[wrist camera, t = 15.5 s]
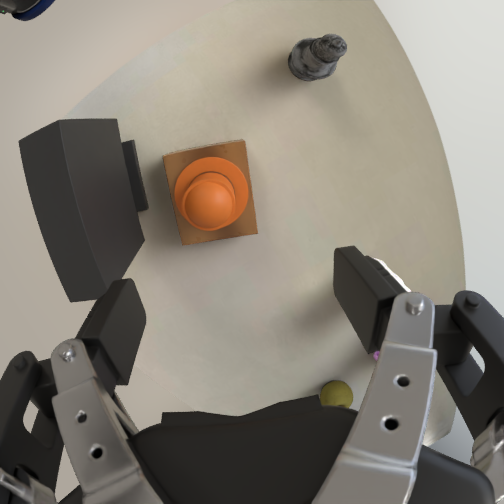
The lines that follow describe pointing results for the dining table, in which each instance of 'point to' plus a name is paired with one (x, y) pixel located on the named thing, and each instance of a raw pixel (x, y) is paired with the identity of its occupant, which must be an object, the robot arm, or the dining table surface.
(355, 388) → the dining table surface
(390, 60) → the dining table surface
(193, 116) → the dining table surface
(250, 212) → the stand
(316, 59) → the chess piece
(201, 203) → the hat
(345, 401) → the apple
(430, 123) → the dining table surface
